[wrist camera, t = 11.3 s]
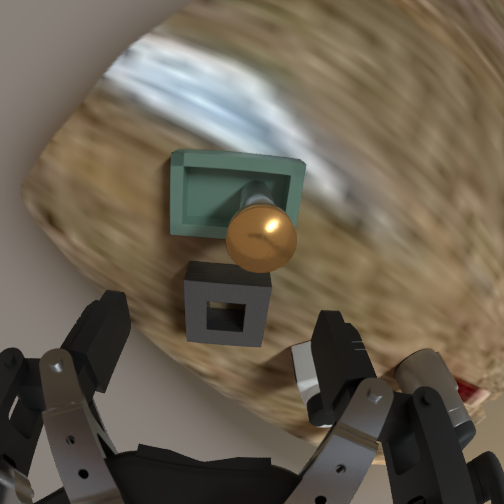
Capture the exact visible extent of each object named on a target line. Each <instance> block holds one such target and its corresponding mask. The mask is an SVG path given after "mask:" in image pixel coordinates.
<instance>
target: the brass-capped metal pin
mask: <svg viewBox="0 0 504 504" xmlns="http://www.w3.org/2000/svg"><path fill="white" fill-rule="evenodd" d="M296 245H297V235H296V231H295V228H294V226H293V223H292V221H291V219H290V217H289V216H288V214H287V213H286V212H285V211H284V210H282V209H281V208H279V207H278V206H276V205H275V203H274V200H273V197H272V194H271V191H270V189H269V187H268V186H267V185H266V184H265V183H264V182H262V181H257V180H255V181H250V182H248V183H247V184H245V185H244V187H243V188H242V190H241V196H240V210H238V211H237V212H236V213H235V214H234V216H233V217H232V218H231V220H230V222H229V225H228V229H227V235H226V247H227V251H228V253H229V255H230V257H231V259H232V260H233V261H234V262H235V263H236V264H237V265H238V266H240V267H241V268H243V269H245V270H247V271H250V272H255V273H266V272H271V271H274V270H277V269H279V268H280V267H282V266H283V265H285V264H286V263H287V262H288V261H289V260H290V258H291V257H292V256H293V254H294V252H295V249H296Z"/></svg>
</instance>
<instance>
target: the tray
mask: <svg viewBox="0 0 504 504" xmlns="http://www.w3.org/2000/svg"><path fill="white" fill-rule="evenodd" d="M305 169H306V164H305V163H304V162H303V161H302V160H300V159H294V158H287V157H279V156H271V155H262V154H252V153H242V152H230V151H216V150H198V149H177V150H175V151H174V152H172V153H171V173H170V235H182V236H195V237H207V238H219V239H226V235H227V229H228V225H229V222H230V220H231V218H232V217H233V216H234V214H235V213H236V212H237V211H238V210H240V196H241V190H242V188H243V187H244V185H245V184H247V183H248V182H250V181H255V180H257V181H262V182H264V183H265V184H266V185H267V186H268V187H269V189H270V191H271V194H272V197H273V200H274V203H275V205H276V206H278V207H279V208H281V209H282V210H284V211H285V212H286V213H287V214H288V216H289V217H290V219H291V221H292V223H293V226H294V228H296V223H297V217H298V212H299V206H300V200H301V194H302V188H303V182H304V176H305Z"/></svg>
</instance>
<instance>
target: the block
mask: <svg viewBox="0 0 504 504" xmlns="http://www.w3.org/2000/svg"><path fill="white" fill-rule="evenodd" d="M271 290H272V285H271V278H270V272H266V273H255V272H250V271H247V270H245V269H243V268H241V267H240V266H238V265H234V264H222V263H210V262H198V261H190V263H189V266H188V269H187V272H186V275H185V278H184V300H185V320H186V336H187V341H188V342H197V343H207V344H219V345H231V346H246V347H261V344H262V339H263V334H264V328H265V323H266V317H267V312H268V306H269V301H270V295H271ZM210 301H213V302H224V303H237V304H244V306H243V310H230V309H218V308H210Z"/></svg>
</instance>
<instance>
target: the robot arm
mask: <svg viewBox="0 0 504 504" xmlns="http://www.w3.org/2000/svg"><path fill="white" fill-rule="evenodd" d="M130 329H131V320H130V315H129V310H128V305H127V300H126V295H125V293H124V292H119V291H112V290H107V291H106V292H105V293H104V294H103V296H102V298H101V299H100V300H99V301H98V300H95V301H93V302H92V303H91V304H89V305H88V306H87V307H86V308H85V310H84V311H83V313H82V314H81V317H79V319H78V320H77V323H76V324H75V325H74V326H73V328H72V329H71V331H70V333H69V334H68V336H67V337H66V339H65V341H64V342H63V344H62V345H61V347H60V348H56V349H52V350H49V351H47V352H46V353H45V354H44V355H43V356H42V357H41V358H40V359H38V358H24V356H23V354H22V352H21V351H20V350H19V349H17V348H7V349H5V350H4V351H2V352H1V353H0V504H350V502H351V500H352V499H353V497H354V495H355V493H356V492H357V490H358V488H359V486H360V484H361V483H362V481H363V479H364V477H365V475H366V473H367V471H368V469H369V467H370V465H371V463H372V461H373V459H374V457H375V455H376V452H377V450H378V446H379V444H378V443H376V441H380V442H381V443H382V447H383V452H384V456H385V461H386V466H387V471H388V476H389V481H390V487H391V493H392V499H393V504H484V503H485V501H486V502H487V501H489V500H491V504H504V472H503V469H502V467H501V464H500V463H499V460H498V459H497V457H496V456H495V454H493V453H492V452H490V451H487V452H484V453H482V454H481V455H479V456H478V457H476V458H474V459H473V460H472V461H470V462H468V463H467V464H466V462H465V459H464V456H463V453H462V450H463V448H465V446H466V445H467V444H468V443H469V442H470V441H471V440H472V439H473V437H474V436H475V434H476V429H475V426H474V424H473V422H472V420H471V418H470V416H469V414H468V412H467V410H466V408H465V406H464V404H463V402H462V400H461V398H460V396H459V394H458V392H457V390H458V385H457V383H456V381H455V380H454V378H453V376H452V374H451V372H450V371H449V369H448V367H447V365H446V364H445V362H444V360H443V359H442V357H441V355H440V354H439V352H437V353H436V352H435V351H434V350H432V349H424V350H421V351H418V352H416V353H414V354H413V355H411V356H409V357H408V358H407V359H406V360H404V361H403V362H402V363H401V364H400V365H399V367H398V368H397V370H396V372H395V378H396V380H397V382H398V385H399V387H400V389H401V392H402V393H400V392H395V391H393V390H392V388H391V387H390V386H389V384H388V383H386V382H385V381H383V380H381V379H379V378H377V376H376V373H375V371H374V368H373V366H372V363H371V361H370V358H369V356H368V354H367V351H366V350H365V346H364V344H363V343H362V339H361V337H360V335H359V332H358V331H357V330H356V329H355V328H354V327H353V326H352V325H351V323H345V322H344V320H343V317H342V315H341V313H340V311H330V310H321V311H320V313H319V316H318V319H317V322H316V326H315V329H314V332H313V335H312V338H311V353H312V357H313V362H314V366H315V371H316V375H317V380H318V384H319V389H320V393H321V398H322V403H323V407H324V412H325V415H327V414H335V419H336V420H335V422H334V423H333V425H332V426H331V428H330V430H329V431H328V433H327V434H326V436H325V437H324V439H323V441H322V442H321V444H320V445H319V447H318V448H317V450H316V451H315V453H314V454H313V455H312V457H311V458H310V459H309V461H308V462H307V463H306V465H305V466H304V467H303V469H302V470H301V471H300V472H299V474H298V475H297V474H295V473H293V472H292V471H290V470H287V469H285V468H282V467H279V466H276V465H271V458H250V457H249V458H248V457H236V458H229V459H223V460H215V461H209V462H208V461H207V462H202V461H198V460H195V459H192V458H190V457H187V456H184V455H181V454H179V453H176V452H174V451H171V450H168V449H162V448H157V447H152V446H147V445H143V444H139V445H138V449H137V451H127V452H123V453H118V452H117V450H116V448H115V446H114V445H113V443H112V441H111V440H110V438H109V436H108V433H107V431H106V429H105V427H104V424H103V422H102V419H101V417H100V414H99V412H98V409H97V406H96V404H95V401H94V399H93V395H94V393H95V391H97V392H101V393H105V392H106V389H107V386H108V384H109V381H110V379H111V376H112V374H113V371H114V369H115V366H116V364H117V362H118V359H119V357H120V354H121V352H122V350H123V347H124V345H125V343H126V340H127V338H128V336H129V333H130ZM16 396H17V397H18V398H19V399H18V401H17V404H16V406H15V408H14V410H13V413H12V415H11V418H10V420H9V417H8V416H9V411H10V409H11V407H12V405H13V402H14V400H15V398H16ZM43 424H44V426H45V430H46V434H47V438H48V441H49V445H50V448H51V452H52V455H53V458H54V461H55V464H56V467H57V470H58V473H59V475H60V478H61V481H62V483H63V487H62V488H60V489H58V490H57V491H55V492H53V493H51V494H50V495H48V496H46V497H45V498H43V499H41V500H39V501H37V502H35V503H33V502H32V498H33V497H34V491H33V489H32V488H31V484H30V482H29V480H28V478H27V477H28V474H29V470H30V466H31V462H32V458H33V455H34V452H35V449H36V445H37V442H38V439H39V436H40V433H41V430H42V427H43Z"/></svg>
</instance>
